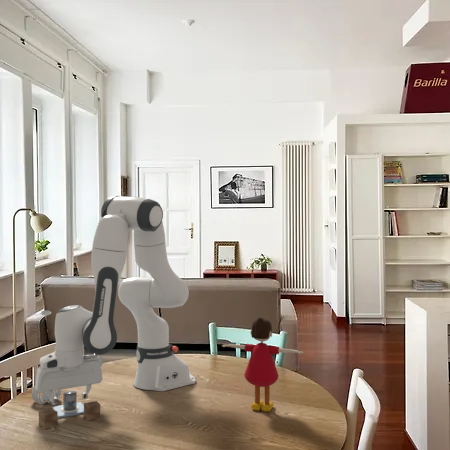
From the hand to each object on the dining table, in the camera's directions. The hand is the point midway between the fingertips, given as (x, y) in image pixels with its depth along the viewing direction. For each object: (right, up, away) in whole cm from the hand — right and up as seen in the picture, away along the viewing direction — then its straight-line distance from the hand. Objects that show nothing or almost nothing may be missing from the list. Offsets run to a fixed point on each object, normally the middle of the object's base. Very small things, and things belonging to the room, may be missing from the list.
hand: (69, 401), depth 168 cm
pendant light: (-10, -3, +8) cm, 13 cm away
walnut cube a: (+8, -3, -5) cm, 10 cm away
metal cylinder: (0, -2, 0) cm, 2 cm away
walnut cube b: (-3, -4, -11) cm, 12 cm away
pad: (0, -3, 0) cm, 3 cm away
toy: (+60, -3, +1) cm, 60 cm away
